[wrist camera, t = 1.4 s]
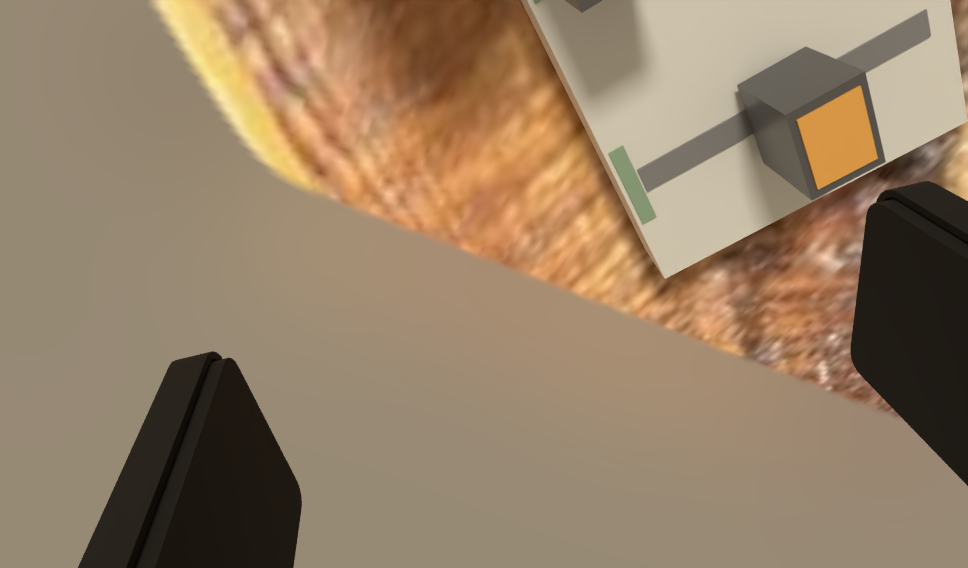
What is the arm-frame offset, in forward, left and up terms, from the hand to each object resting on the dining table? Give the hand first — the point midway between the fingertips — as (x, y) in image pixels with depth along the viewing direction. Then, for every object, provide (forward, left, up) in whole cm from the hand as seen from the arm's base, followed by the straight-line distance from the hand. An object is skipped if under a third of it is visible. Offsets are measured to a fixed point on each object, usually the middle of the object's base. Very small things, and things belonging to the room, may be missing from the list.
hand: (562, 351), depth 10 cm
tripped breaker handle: (-11, +9, -18) cm, 23 cm away
